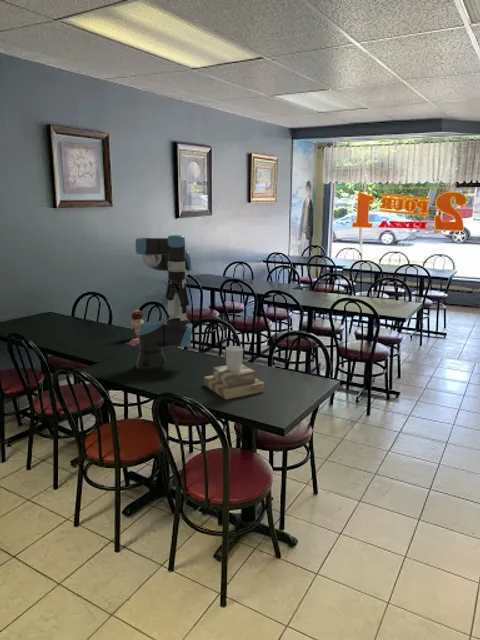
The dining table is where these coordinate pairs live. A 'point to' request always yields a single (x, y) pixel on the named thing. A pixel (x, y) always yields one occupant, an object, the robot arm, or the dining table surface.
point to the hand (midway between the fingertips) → (177, 317)
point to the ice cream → (136, 325)
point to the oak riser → (233, 382)
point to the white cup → (234, 358)
